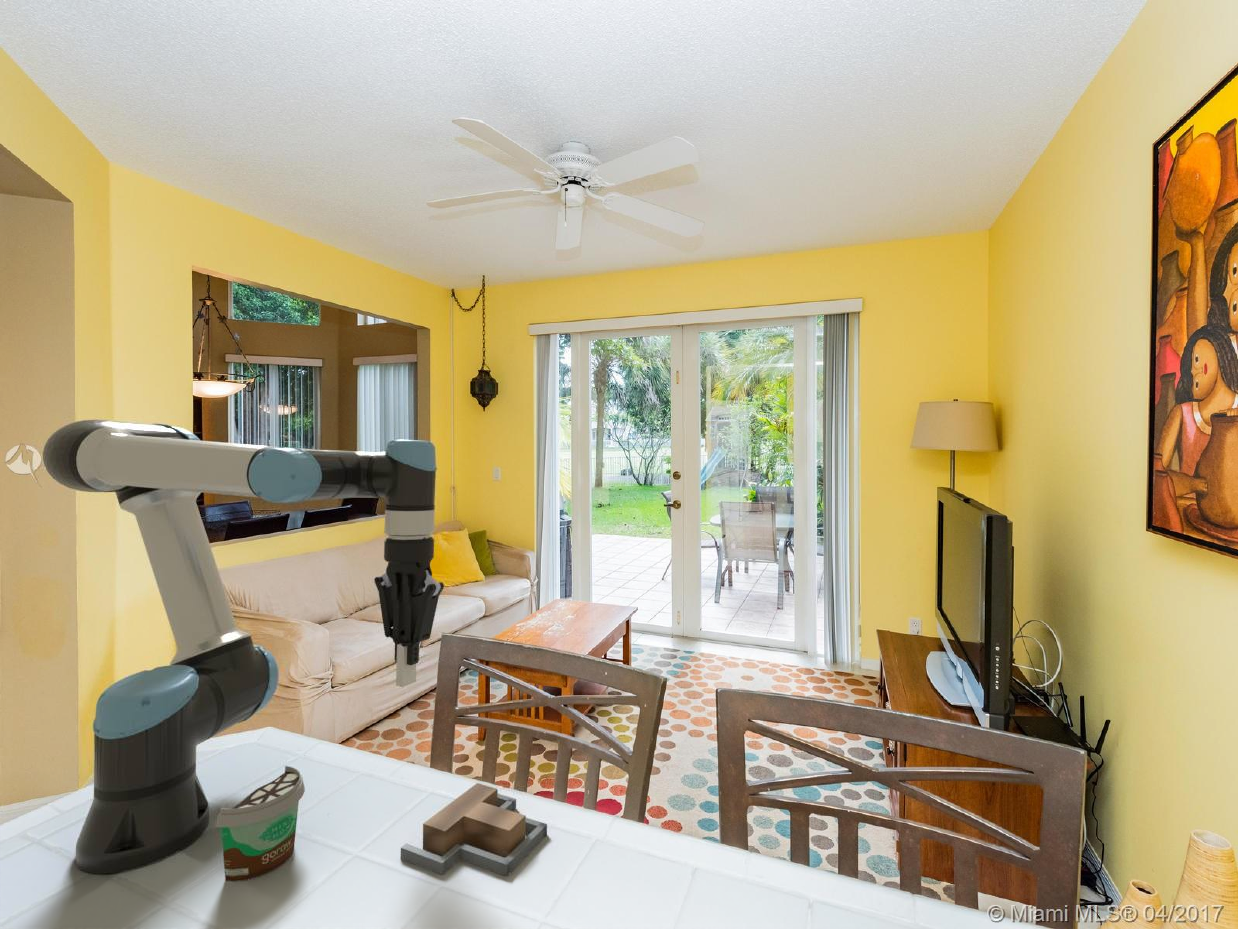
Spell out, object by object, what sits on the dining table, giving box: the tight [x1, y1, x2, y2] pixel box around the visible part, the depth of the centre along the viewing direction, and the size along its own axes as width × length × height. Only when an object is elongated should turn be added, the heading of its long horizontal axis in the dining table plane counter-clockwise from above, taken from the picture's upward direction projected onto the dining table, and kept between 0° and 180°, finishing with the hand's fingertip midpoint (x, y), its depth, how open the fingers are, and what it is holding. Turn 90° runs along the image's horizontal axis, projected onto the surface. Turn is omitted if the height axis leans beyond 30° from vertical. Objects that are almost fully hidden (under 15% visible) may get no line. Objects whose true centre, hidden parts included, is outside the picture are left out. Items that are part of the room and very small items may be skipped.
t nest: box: [400, 793, 548, 877], centre depth 86 cm, size 16×17×2 cm
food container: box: [216, 765, 306, 882], centre depth 81 cm, size 12×6×10 cm, turn 168°
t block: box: [422, 782, 527, 858], centre depth 86 cm, size 12×12×4 cm
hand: (406, 683), depth 94 cm, fingers closed
